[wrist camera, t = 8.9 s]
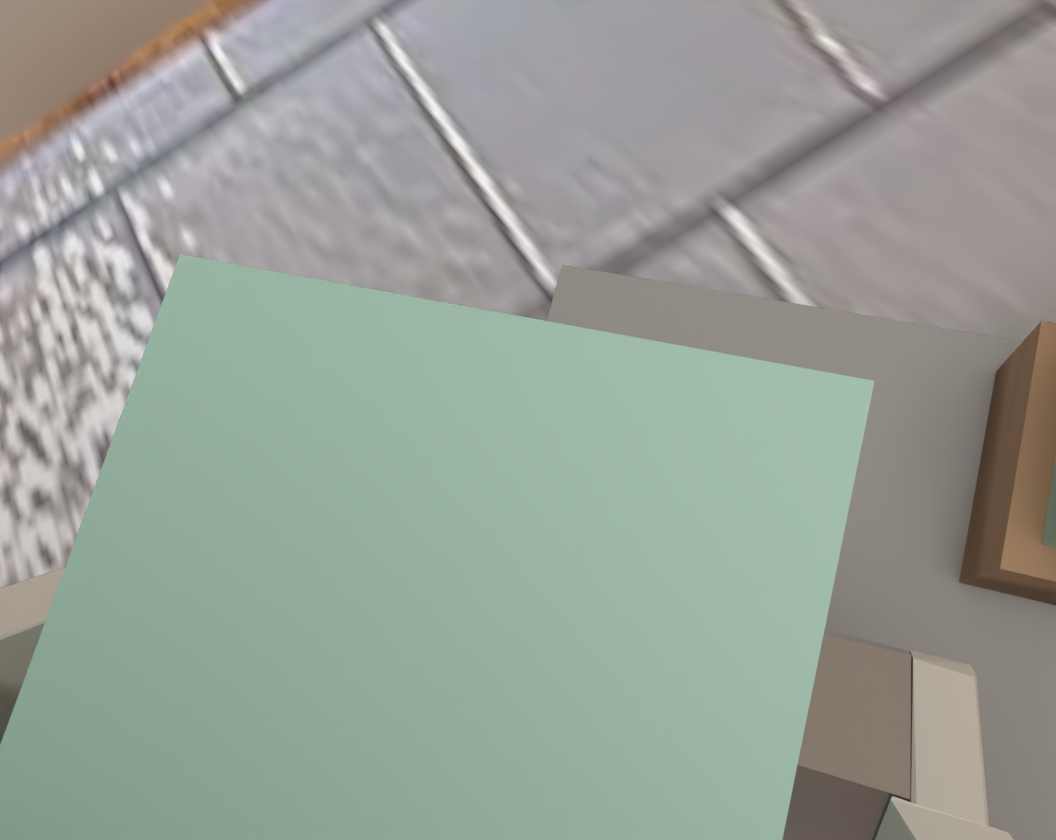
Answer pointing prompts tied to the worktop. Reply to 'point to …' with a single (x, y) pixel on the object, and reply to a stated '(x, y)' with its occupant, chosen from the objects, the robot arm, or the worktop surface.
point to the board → (890, 500)
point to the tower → (1018, 478)
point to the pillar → (434, 581)
